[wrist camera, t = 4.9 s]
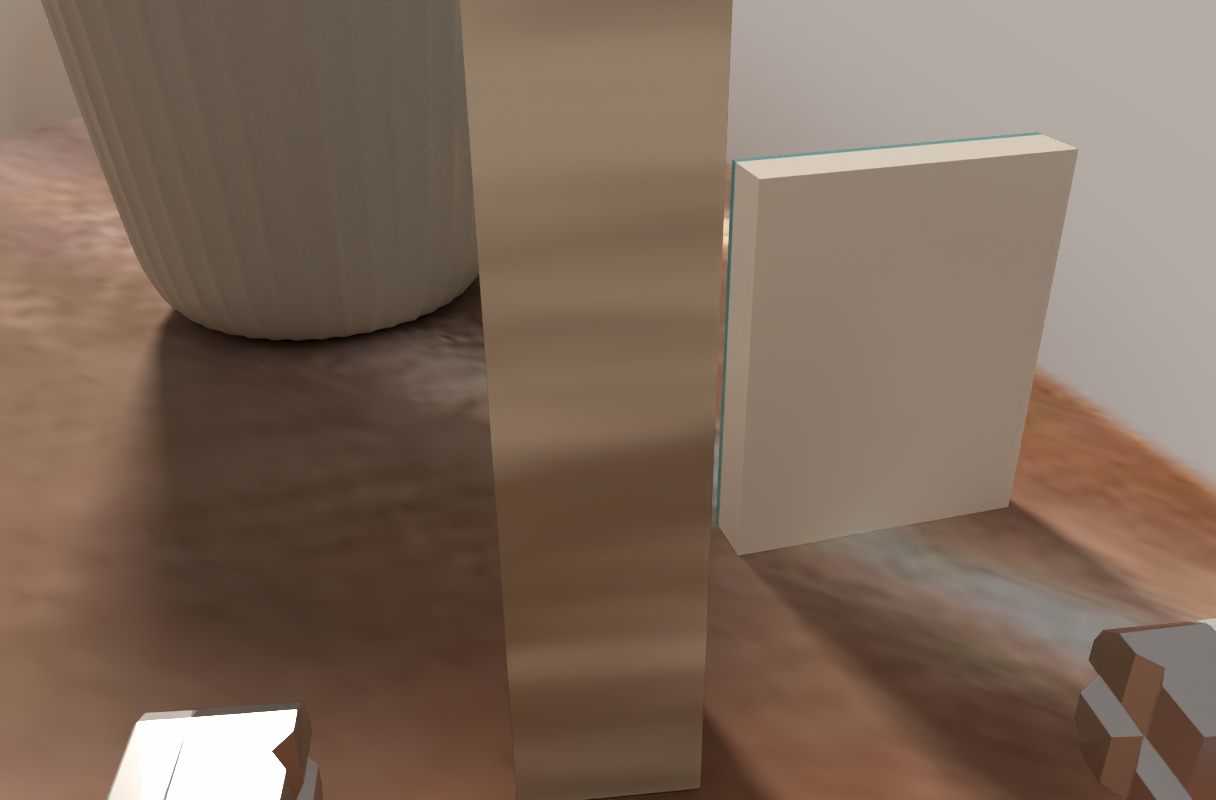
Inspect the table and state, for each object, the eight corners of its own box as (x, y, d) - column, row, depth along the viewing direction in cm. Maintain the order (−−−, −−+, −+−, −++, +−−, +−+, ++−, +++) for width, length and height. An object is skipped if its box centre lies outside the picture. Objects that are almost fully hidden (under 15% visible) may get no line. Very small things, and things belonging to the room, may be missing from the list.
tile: (1008, 506, 30) (1078, 148, 25) (738, 555, 28) (759, 178, 23) (975, 477, 31) (1036, 132, 27) (716, 521, 29) (732, 160, 25)
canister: (107, 246, 49) (-25, -303, 39) (494, 202, 54) (463, -294, 44) (71, 431, 34) (-159, -383, 24) (611, 347, 39) (604, -356, 29)
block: (700, 788, 21) (736, -107, 14) (517, 806, 21) (452, -103, 13) (669, 663, 24) (686, -120, 17) (510, 677, 24) (455, -116, 17)
